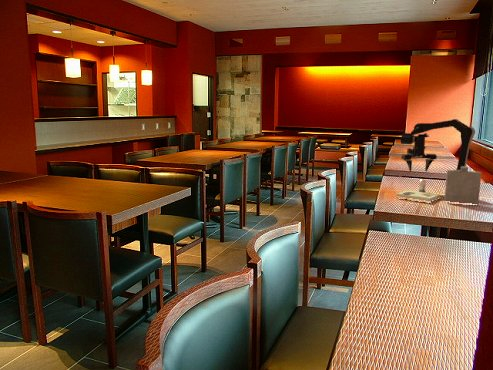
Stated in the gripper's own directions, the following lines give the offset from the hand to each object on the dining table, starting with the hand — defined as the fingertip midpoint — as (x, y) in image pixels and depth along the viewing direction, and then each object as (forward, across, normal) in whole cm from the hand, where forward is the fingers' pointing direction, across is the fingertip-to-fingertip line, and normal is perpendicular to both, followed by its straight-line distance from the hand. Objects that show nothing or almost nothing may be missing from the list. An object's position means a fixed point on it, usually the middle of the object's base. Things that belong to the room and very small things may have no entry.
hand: (418, 171), depth 248 cm
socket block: (+13, +7, +18) cm, 24 cm away
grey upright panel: (+14, -11, +30) cm, 35 cm away
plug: (+12, -1, +5) cm, 13 cm away
